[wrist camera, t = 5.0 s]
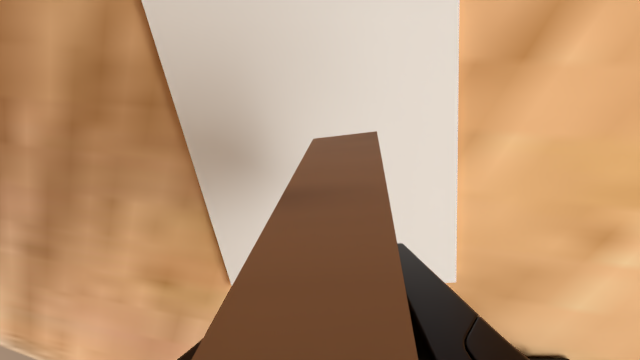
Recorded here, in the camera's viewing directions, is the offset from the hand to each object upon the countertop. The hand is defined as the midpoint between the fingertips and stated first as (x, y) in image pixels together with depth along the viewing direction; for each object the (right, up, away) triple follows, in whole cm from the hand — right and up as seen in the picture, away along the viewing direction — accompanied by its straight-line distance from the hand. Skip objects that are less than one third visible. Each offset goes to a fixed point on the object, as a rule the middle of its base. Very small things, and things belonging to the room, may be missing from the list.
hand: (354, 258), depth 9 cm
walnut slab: (0, +1, +2) cm, 2 cm away
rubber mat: (-1, +4, +8) cm, 9 cm away
